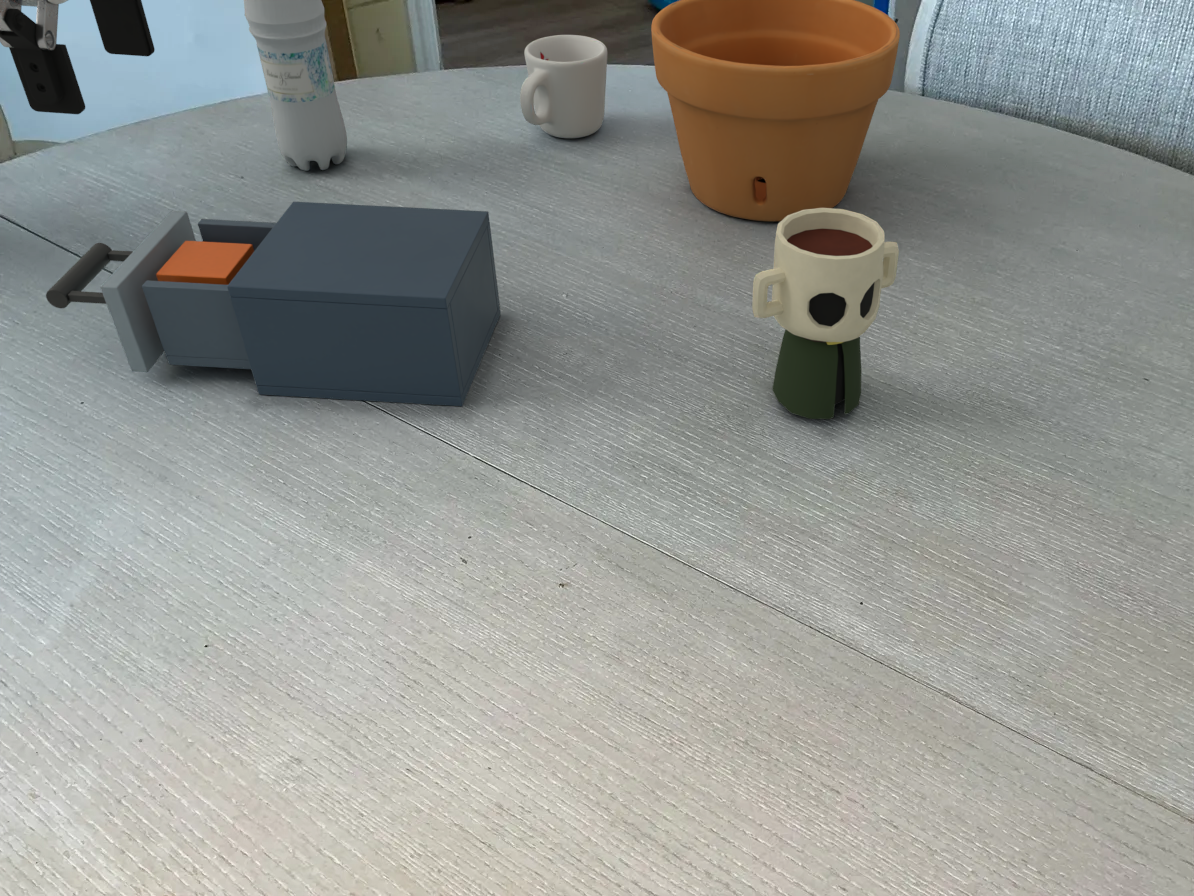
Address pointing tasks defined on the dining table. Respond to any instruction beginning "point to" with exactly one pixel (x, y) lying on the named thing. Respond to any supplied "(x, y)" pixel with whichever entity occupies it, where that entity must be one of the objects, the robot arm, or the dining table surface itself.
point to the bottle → (299, 80)
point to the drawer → (165, 297)
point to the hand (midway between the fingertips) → (96, 81)
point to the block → (205, 262)
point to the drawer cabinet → (369, 303)
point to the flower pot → (772, 97)
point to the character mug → (823, 304)
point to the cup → (565, 85)
